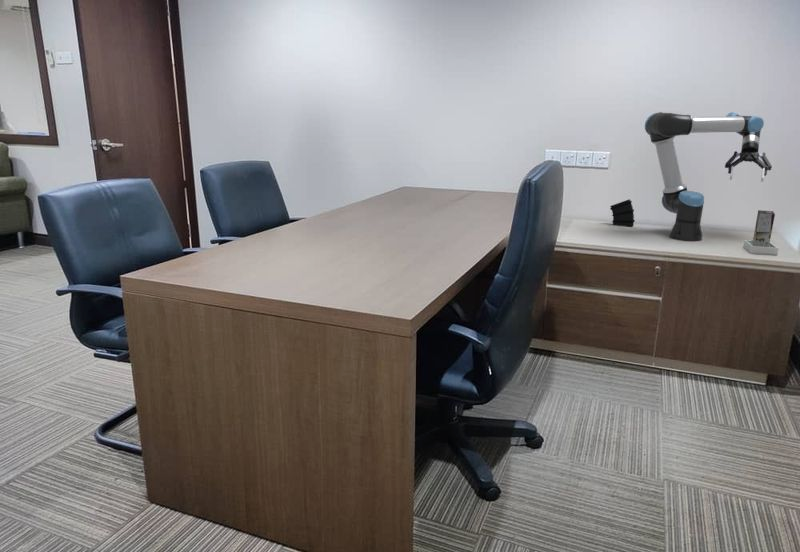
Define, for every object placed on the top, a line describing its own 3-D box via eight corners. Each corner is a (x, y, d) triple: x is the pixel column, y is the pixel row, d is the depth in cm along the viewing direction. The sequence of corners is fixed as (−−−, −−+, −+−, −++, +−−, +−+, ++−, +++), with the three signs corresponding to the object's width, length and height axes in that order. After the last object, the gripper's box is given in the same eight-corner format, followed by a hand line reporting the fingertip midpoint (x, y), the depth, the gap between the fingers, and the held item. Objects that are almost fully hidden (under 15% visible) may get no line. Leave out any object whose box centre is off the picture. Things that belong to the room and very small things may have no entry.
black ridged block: (638, 224, 331) (629, 199, 331) (615, 232, 339) (606, 207, 339) (639, 223, 334) (630, 198, 334) (617, 231, 342) (608, 206, 342)
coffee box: (769, 248, 275) (775, 214, 270) (753, 246, 278) (759, 212, 273) (767, 244, 283) (773, 210, 278) (751, 242, 286) (757, 209, 281)
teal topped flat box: (750, 253, 276) (752, 246, 275) (743, 247, 288) (744, 240, 287) (776, 255, 273) (778, 248, 272) (768, 248, 286) (769, 241, 285)
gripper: (777, 152, 300) (774, 185, 291) (721, 150, 311) (717, 181, 302) (780, 142, 294) (777, 175, 285) (723, 140, 305) (719, 172, 296)
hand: (746, 179), depth 293 cm, fingers open, 13 cm apart
